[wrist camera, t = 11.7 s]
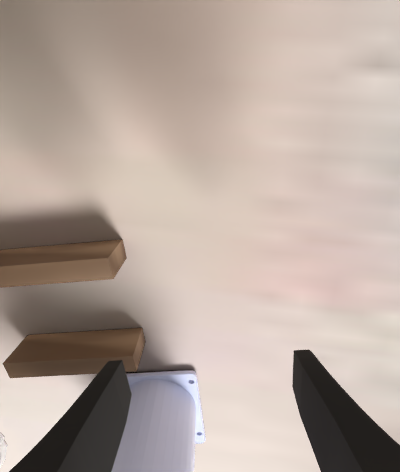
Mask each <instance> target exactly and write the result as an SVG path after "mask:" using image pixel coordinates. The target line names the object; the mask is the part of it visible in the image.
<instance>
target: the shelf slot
mask: <svg viewBox="0 0 400 472" xmlns="http://www.w3.org/2000/svg"><path fill="white" fill-rule="evenodd" d="M125 260H126V253H125V249H124V245H123V240H110V241H98V242H86V243H74V244H63V245H51V246H39V247H27V248H15V249H4V250H0V287H13V286H26V285H39V284H53V283H66V282H79V281H92V280H106V279H114V277H115V275H116V274H117V272H118V271H119V269H120V268H121V266H122V264H123V263H124V261H125ZM144 345H145V338H144V333H143V329H142V328H131V329H115V330H99V331H83V332H68V333H52V334H36V335H27V336H26V338H25V339H24V340H23V341H22V342H21V343H20V344H19V346H18V347H17V348H16V349H15V350H14V351H13V352H12V354H11V355H10V356H9V357H8V358H7V359H6V360H5V362H4V363H3V365H4V367H5V369H6V371H7V373H8V375H9V377H10V378H20V377H39V376H58V375H77V374H96V373H99V372H100V371H101V369H102V368H103V367H104V366H105V364H106V363H107V362H108V361H116V360H122V361H123V364H124V368H125V372H134V371H137V369H138V365H139V362H140V358H141V355H142V352H143V348H144Z"/></svg>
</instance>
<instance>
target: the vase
mask: <svg viewBox="0 0 400 472" xmlns="http://www.w3.org/2000/svg"><path fill="white" fill-rule="evenodd" d="M6 450H7V444H6V442H5V441H4V436H3V435H2V434H1V433H0V467H1V466H2V464H3V463H4V461H5V458H6Z"/></svg>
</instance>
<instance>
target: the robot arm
mask: <svg viewBox="0 0 400 472" xmlns="http://www.w3.org/2000/svg"><path fill="white" fill-rule="evenodd" d="M293 390H294V394H295V398H296V402H297V405H298V409H299V413H300V416H301V419H302V422H303V424H304V427H305V430H306V432H307V435H308V438H309V440H310V443H311V446H312V449H313V451H314V454H315V457H316V459H317V462H318V465H319V467H320V470H321V472H400V445H399V444H398V443H397V442H396V441H394V440H393V439H392V438H391V437H390V436H389V435H388V434H387V433H386V432H385V431H384V430H383V429H382V428H381V427H379V426H378V425H377V424H376V423H375V422H374V421H373V420H372V419H371V418H370V417H369V416H368V415H367V414H366V413H365V412H364V411H363V410H362V409H361V408H360V407H359V405H358V404H357V403H356V402H355V401H354V400H353V399H352V398H351V397H350V396H349V395H348V394H347V393H346V392H345V390H344V389H343V388H342V387H341V386H340V385H339V384H338V383H337V382H336V381H335V379H334V378H333V377H332V376H331V375H330V374H329V372H328V371H327V370H326V369H325V368H324V366H323V365H322V364H321V363H320V362H319V360H318V359H317V358H316V357H315V355H314V354H313V353H312V352H311V351H310V350H295V351H294V362H293ZM204 442H205V430H204V423H203V416H202V409H201V402H200V395H199V388H198V381H197V374H196V372H195V371H192V370H186V371H167V372H148V373H129V374H126V372H125V368H124V364H123V361H122V360H116V361H108V362H107V363H106V364H105V366H104V367H103V368H102V369H101V371H100V372H99V373H98V374H97V376H96V377H95V378H94V379H93V381H92V382H91V383H90V384H89V386H88V387H87V388H86V389H85V391H84V392H83V393H82V394H81V395H80V397H79V398H78V399H77V400H76V401H75V403H74V404H73V405H72V406H71V407H70V409H69V410H68V411H67V412H66V413H65V414H64V415H63V417H62V418H61V419H60V420H59V421H58V422H57V423H56V424H55V425H54V427H53V428H52V429H51V430H50V431H49V432H48V433H47V434H46V435H45V436H44V437H43V438H42V440H41V441H40V442H39V443H38V444H37V445H36V446H35V447H34V448H33V449H32V450H31V451H30V452H29V453H28V454H27V455H26V456H25V457H24V458H23V459H22V460H21V461H20V462H19V463H18V464H17V465H16V466H14V467H13V468H12V469H11V470H10V471H9V472H194V463H195V444H198V443H204Z"/></svg>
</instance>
